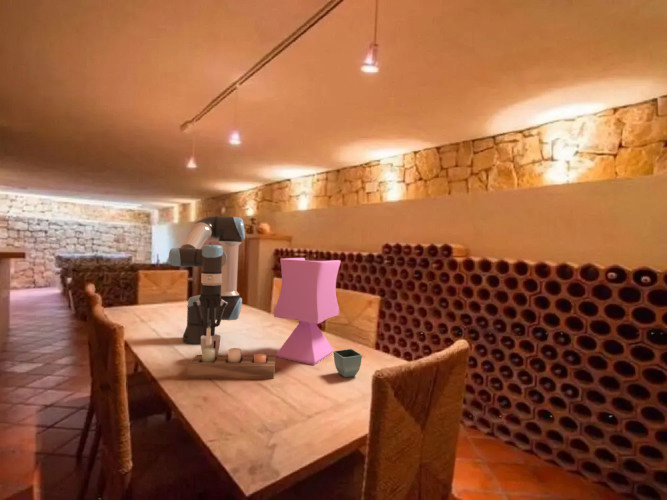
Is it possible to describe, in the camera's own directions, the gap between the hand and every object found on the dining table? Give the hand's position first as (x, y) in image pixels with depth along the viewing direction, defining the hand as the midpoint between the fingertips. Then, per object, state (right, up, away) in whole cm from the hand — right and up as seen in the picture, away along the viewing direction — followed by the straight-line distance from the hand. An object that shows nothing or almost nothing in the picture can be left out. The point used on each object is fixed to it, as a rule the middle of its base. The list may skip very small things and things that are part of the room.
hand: (208, 344), depth 132 cm
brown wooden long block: (+9, -12, +1) cm, 15 cm away
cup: (-5, -11, +15) cm, 19 cm away
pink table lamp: (+36, -13, +26) cm, 46 cm away
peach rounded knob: (+10, -8, +1) cm, 12 cm away
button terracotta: (+19, -9, +2) cm, 22 cm away
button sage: (0, -6, 0) cm, 6 cm away
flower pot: (+54, -14, +4) cm, 56 cm away
